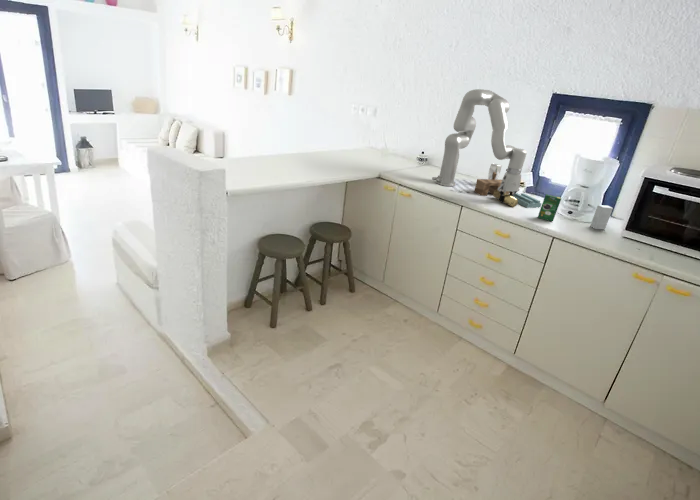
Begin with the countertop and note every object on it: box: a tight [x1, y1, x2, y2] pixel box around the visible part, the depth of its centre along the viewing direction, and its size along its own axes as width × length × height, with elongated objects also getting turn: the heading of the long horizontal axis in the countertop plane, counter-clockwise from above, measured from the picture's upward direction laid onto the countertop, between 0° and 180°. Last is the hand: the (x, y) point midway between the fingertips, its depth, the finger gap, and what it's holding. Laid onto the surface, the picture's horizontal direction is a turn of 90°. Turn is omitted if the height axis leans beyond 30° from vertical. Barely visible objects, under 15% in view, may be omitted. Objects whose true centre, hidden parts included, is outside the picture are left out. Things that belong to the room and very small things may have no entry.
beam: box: [473, 178, 510, 197], centre depth 253 cm, size 20×8×8 cm, turn 110°
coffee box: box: [537, 193, 562, 222], centre depth 217 cm, size 8×3×13 cm, turn 62°
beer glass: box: [487, 163, 503, 180], centre depth 265 cm, size 7×7×15 cm
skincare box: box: [589, 204, 614, 230], centre depth 214 cm, size 6×4×12 cm
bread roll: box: [492, 190, 518, 208], centre depth 239 cm, size 16×5×5 cm, turn 20°
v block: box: [513, 192, 543, 209], centre depth 242 cm, size 10×14×4 cm
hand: (504, 201), depth 239 cm, fingers closed on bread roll, 5 cm apart
